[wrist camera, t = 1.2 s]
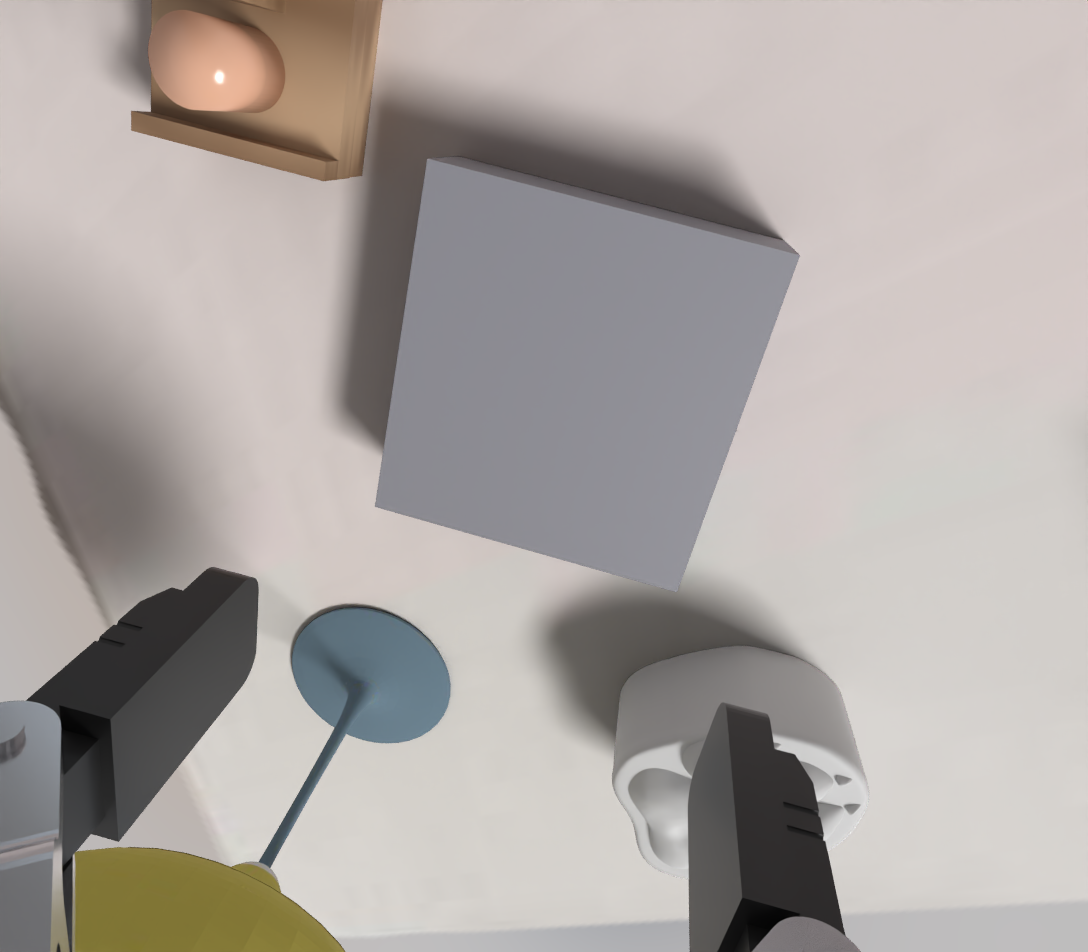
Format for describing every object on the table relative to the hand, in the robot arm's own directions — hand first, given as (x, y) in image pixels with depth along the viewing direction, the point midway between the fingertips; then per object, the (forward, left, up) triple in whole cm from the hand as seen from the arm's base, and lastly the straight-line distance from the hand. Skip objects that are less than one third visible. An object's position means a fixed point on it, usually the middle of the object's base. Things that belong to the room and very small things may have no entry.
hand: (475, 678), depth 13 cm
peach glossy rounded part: (-7, -18, -25) cm, 32 cm away
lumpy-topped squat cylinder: (+22, +14, -29) cm, 39 cm away
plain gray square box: (+3, -1, -29) cm, 29 cm away
